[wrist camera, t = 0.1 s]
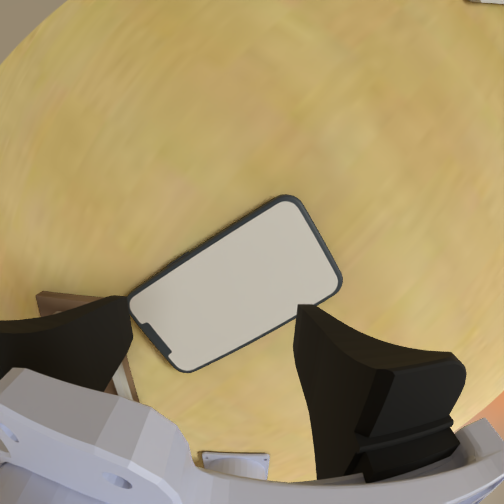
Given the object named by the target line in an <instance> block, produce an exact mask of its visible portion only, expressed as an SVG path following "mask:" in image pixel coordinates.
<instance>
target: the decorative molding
mask: <svg viewBox="0 0 504 504" xmlns="http://www.w3.org/2000/svg"><path fill="white" fill-rule="evenodd" d="M470 1H471V2H481V3H498V4H504V0H470Z"/></svg>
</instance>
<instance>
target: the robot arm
mask: <svg viewBox="0 0 504 504" xmlns="http://www.w3.org/2000/svg"><path fill="white" fill-rule="evenodd" d="M132 340H133V333H132V327H131V321H130V315H129V308H128V301H127V296H116V295H114V296H109V297H105V298H102V299H99V300H96V301H93V302H90V303H87V304H84V305H82V306H79V307H76V308H73V309H69V310H66V311H63V312H60V313H56V314H53V315H48V316H44V317H39V318H32V319H24V320H11V321H0V504H478V503H480V502H481V501H482V500H483V499H484V498H485V497H487V496H488V495H489V494H490V493H491V492H492V491H493V490H494V489H495V488H496V487H497V486H498V485H499V484H500V483H501V482H502V481H503V480H504V441H503V440H502V438H501V437H500V436H499V434H498V433H497V432H496V431H495V429H494V428H493V427H492V426H491V424H490V423H489V422H488V420H487V419H486V418H482V419H480V420H478V421H475V422H473V423H471V424H469V425H467V426H464V427H463V428H461V429H460V430H459V431H457V432H456V433H455V434H454V433H453V431H452V430H451V428H450V427H452V425H453V419H452V418H451V417H450V415H449V414H450V412H451V410H452V409H453V407H454V405H455V403H456V401H457V400H458V398H459V396H460V394H461V392H462V389H463V387H464V385H465V380H466V369H465V366H464V365H463V364H462V363H461V362H460V361H459V360H458V359H457V358H456V356H455V355H454V354H453V353H451V352H440V351H425V350H418V349H412V348H407V347H402V346H398V345H394V344H391V343H387V342H384V341H381V340H378V339H375V338H373V337H370V336H368V335H366V334H363V333H361V332H359V331H357V330H355V329H353V328H351V327H349V326H348V325H346V324H344V323H342V322H341V321H339V320H337V319H336V318H334V317H333V316H331V315H330V314H328V313H326V312H325V311H323V310H322V309H320V308H319V307H317V306H315V305H313V304H298V305H297V315H296V324H295V333H294V342H293V351H294V358H295V365H296V369H297V372H298V376H299V379H300V382H301V386H302V389H303V392H304V396H305V399H306V403H307V406H308V410H309V415H310V422H311V428H312V436H313V444H314V452H315V462H316V473H317V480H314V481H304V482H292V483H287V482H277V481H269V480H267V475H268V466H269V458H270V457H269V454H238V453H216V452H203V453H202V459H203V463H204V468H201V467H197V466H195V464H194V462H193V460H192V456H191V452H190V448H189V444H188V442H187V441H186V439H185V437H184V436H183V434H182V433H181V431H180V430H179V428H178V427H177V425H176V424H174V423H173V422H172V421H170V420H169V419H167V418H166V417H164V416H163V415H162V414H160V413H159V412H157V411H156V410H155V409H153V408H152V407H150V406H147V405H144V404H142V403H139V402H136V401H133V400H131V399H128V398H125V397H122V396H117V395H113V394H108V393H104V391H105V389H106V387H107V386H108V384H109V382H110V381H111V379H112V377H113V376H114V374H115V372H116V371H117V369H118V368H119V366H120V364H121V363H122V361H123V359H124V358H125V356H126V354H127V352H128V350H129V347H130V345H131V342H132Z"/></svg>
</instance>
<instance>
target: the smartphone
mask: <svg viewBox="0 0 504 504" xmlns="http://www.w3.org/2000/svg"><path fill="white" fill-rule="evenodd" d="M342 283H343V277H342V274H341V272H340V270H339V268H338V266H337V264H336V262H335V260H334V258H333V257H332V255H331V253H330V251H329V249H328V247H327V246H326V244H325V242H324V240H323V238H322V237H321V235H320V233H319V231H318V229H317V228H316V226H315V224H314V222H313V221H312V219H311V217H310V215H309V214H308V212H307V210H306V209H305V207H304V205H303V204H302V202H301V201H300V200H299V199H298V198H296V197H295V196H292V195H287V194H285V195H279V196H277V197H275V198H274V199H272V200H270V201H269V202H267V203H265V204H264V205H262V206H261V207H259V208H257V209H256V210H254V211H252V212H251V213H249V214H248V215H246V216H244V217H243V218H241V219H240V220H238V221H237V222H235V223H233V224H232V225H230V226H229V227H227V228H225V229H224V230H222V231H221V232H219V233H218V234H216V235H215V236H213V237H211V238H210V239H208V240H207V241H205V242H204V243H202V244H201V245H199V246H198V247H196V248H195V249H193V250H192V251H190V252H189V251H188V252H186V253H185V254H183V255H182V256H180V257H179V258H177V259H176V260H174V261H173V262H171V263H170V264H168V265H167V266H166V268H164V269H163V270H162V271H160V272H159V273H157V274H156V275H154V276H153V277H151V278H150V279H148V280H147V281H145V282H144V283H142V284H141V285H140V286H138V287H137V288H135V289H134V290H133V291H132V292H131V293H130V294H129V295H128V296H127V301H128V308H129V314H130V315H131V317H132V318H133V319H134V321H135V322H136V323H137V324H138V326H139V327H140V328H141V329H142V331H143V332H144V333H145V334H146V336H147V337H148V338H149V339H150V340H151V342H152V343H153V344H154V345H155V346H156V348H157V349H158V350H159V351H160V352H161V353H162V355H163V356H164V357H165V358H166V359H167V360H168V361H169V363H170V364H171V365H172V366H173V367H174V368H175V369H176V370H178V371H180V372H183V373H192V372H194V371H197V370H199V369H201V368H203V367H205V366H207V365H209V364H211V363H213V362H215V361H217V360H219V359H221V358H223V357H225V356H227V355H229V354H231V353H233V352H235V351H237V350H239V349H241V348H243V347H245V346H247V345H248V344H250V343H252V342H254V341H256V340H258V339H260V338H262V337H263V336H265V335H267V334H269V333H271V332H272V331H274V330H276V329H278V328H280V327H281V326H283V325H285V324H287V323H288V322H290V321H292V320H294V319H295V318H296V315H297V305H298V304H313V305H315V306H317V305H319V304H321V303H322V302H324V301H325V300H327V299H329V298H330V297H332V296H334V295H335V294H336V293H337V292H338V291H339V290H340V288H341V286H342Z"/></svg>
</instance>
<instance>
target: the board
mask: <svg viewBox="0 0 504 504" xmlns="http://www.w3.org/2000/svg"><path fill="white" fill-rule="evenodd" d="M102 298H104V297H92V296H82V295H72V294H63V293H54V292H46V291H42V292H40V293H39V294H37V295H36V299H37V303H38V307H39V311H40V315H41V317H44V316H48V315H53V314H56V313H60V312H63V311H66V310H69V309H73V308H76V307H79V306H82V305H84V304H87V303H90V302H93V301H96V300H99V299H102ZM104 393H108V394H113V395H117V396H122V397H125V398H128V399H131V400H133V401H136V402H139V399H138V396H137V392H136V389H135V385H134V382H133V378H132V375H131V371H130V367H129V363H128V359H127V355H126V356H125V358H124V359H123V361H122V363H121V364H120V366H119V368H118V369H117V371H116V372H115V374H114V376H113V377H112V379H111V381H110V382H109V384H108V386H107V387H106V389H105V391H104ZM139 403H140V402H139Z"/></svg>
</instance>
